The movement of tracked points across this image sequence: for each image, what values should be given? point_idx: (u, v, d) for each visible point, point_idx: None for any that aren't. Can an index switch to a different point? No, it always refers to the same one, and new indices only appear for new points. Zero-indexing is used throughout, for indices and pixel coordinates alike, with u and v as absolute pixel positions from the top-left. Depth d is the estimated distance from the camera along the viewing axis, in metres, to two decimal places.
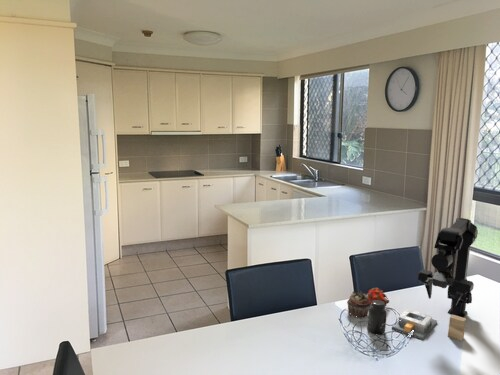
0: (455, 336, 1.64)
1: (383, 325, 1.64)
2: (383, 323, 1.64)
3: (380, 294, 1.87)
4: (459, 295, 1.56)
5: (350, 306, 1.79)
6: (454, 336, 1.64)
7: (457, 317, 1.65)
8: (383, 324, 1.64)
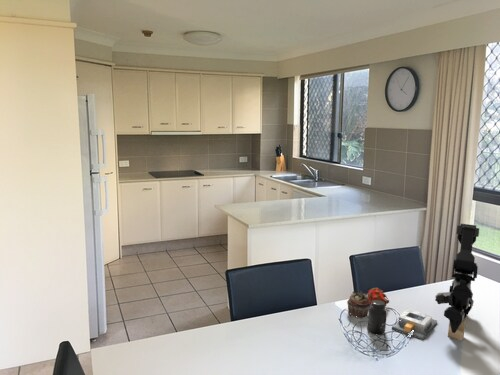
0: (455, 336, 1.64)
1: (383, 325, 1.64)
2: (383, 323, 1.64)
3: (380, 294, 1.87)
4: None
5: (350, 306, 1.79)
6: (454, 336, 1.64)
7: None
8: (383, 324, 1.64)
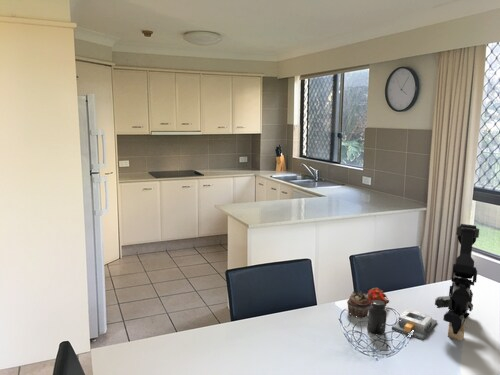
0: (455, 336, 1.64)
1: (383, 325, 1.64)
2: (383, 323, 1.64)
3: (380, 294, 1.87)
4: None
5: (350, 306, 1.79)
6: (454, 336, 1.64)
7: None
8: (383, 324, 1.64)
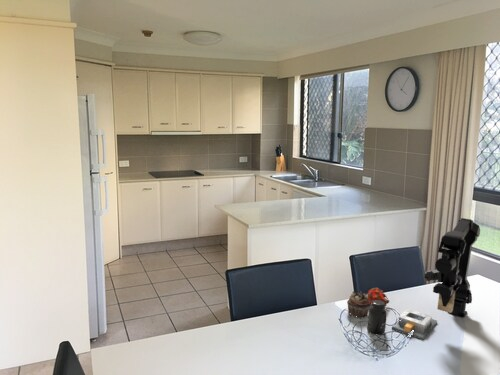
0: (445, 308, 1.65)
1: (383, 325, 1.64)
2: (383, 323, 1.64)
3: (380, 294, 1.87)
4: None
5: (350, 306, 1.79)
6: (444, 309, 1.65)
7: None
8: (383, 324, 1.64)
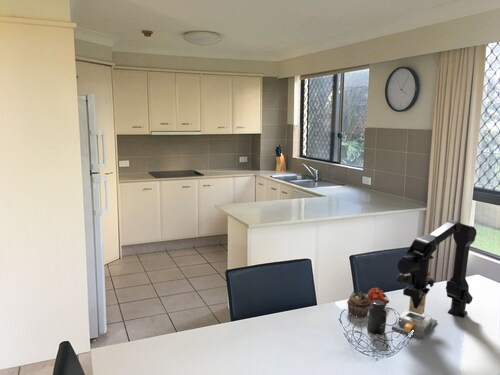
0: (416, 310, 1.71)
1: (383, 325, 1.64)
2: (383, 323, 1.64)
3: (380, 294, 1.87)
4: None
5: (350, 306, 1.79)
6: (415, 310, 1.71)
7: None
8: (383, 324, 1.64)
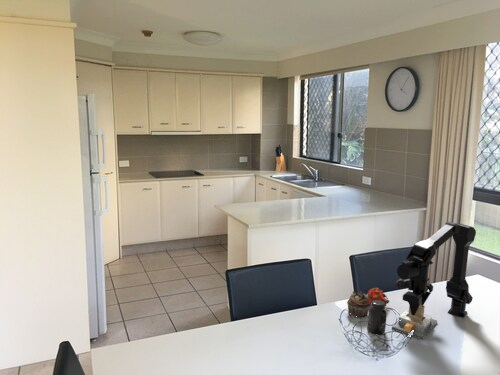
0: None
1: (383, 325, 1.64)
2: (383, 323, 1.64)
3: (380, 294, 1.87)
4: None
5: (350, 306, 1.79)
6: None
7: None
8: (383, 324, 1.64)
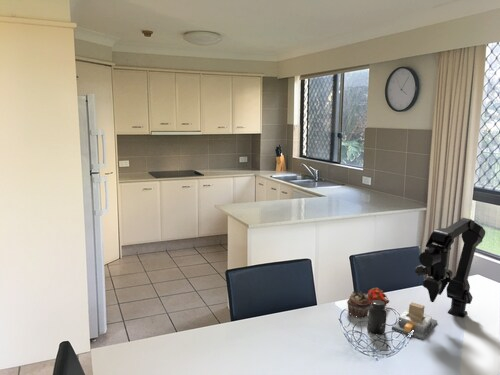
0: None
1: (383, 325, 1.64)
2: (383, 323, 1.64)
3: (380, 294, 1.87)
4: None
5: (350, 306, 1.79)
6: None
7: (416, 304, 1.72)
8: (383, 324, 1.64)
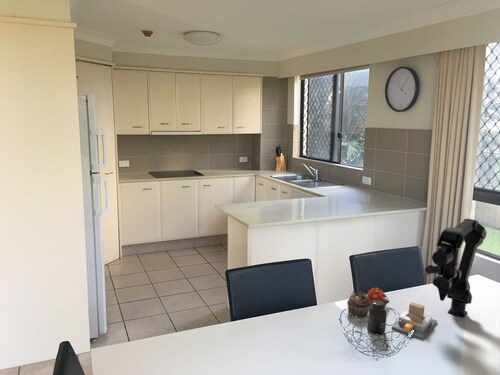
0: None
1: (383, 325, 1.64)
2: (383, 323, 1.64)
3: (380, 294, 1.87)
4: None
5: (350, 306, 1.79)
6: None
7: (416, 304, 1.72)
8: (383, 324, 1.64)
